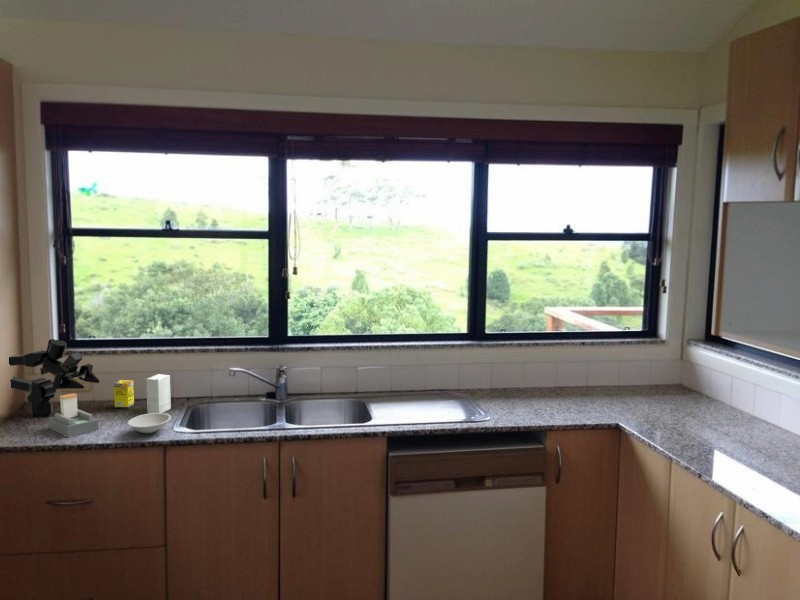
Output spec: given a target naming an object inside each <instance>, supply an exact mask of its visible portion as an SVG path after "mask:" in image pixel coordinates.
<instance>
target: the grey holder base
mask: <svg viewBox="0 0 800 600" xmlns="http://www.w3.org/2000/svg"><path fill="white" fill-rule="evenodd" d="M77 410H78V416H75V417H71V418H69V417H66V416H64V415H62V414H61V413H60V412H55V413H54V417H48V428H50V429H49V430H51V429H52V430H51V431H53V430H54V431H53V432H55V431H56V432H55V433H57V432H58V434H59V433H60V435H61V434H63V435H62V436H64V435H65V436H64V437H66V436H67V437H66V438H68V437H69V438H72V437H71V436H73V437H76V436H75V435H77V436H80V435H79V434H82V435H84V434H83V433H86V434H89V433H88V432H90V433H93V432H92V431H94V432H97V431H96V430H98V431H99V420H98V419H97V418H94V417H93V414H91V413H90V412H88V411H87V412H86V411H84V410H81V409H79V408H77Z"/></svg>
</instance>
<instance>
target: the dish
mask: <svg viewBox="0 0 800 600" xmlns="http://www.w3.org/2000/svg"><path fill="white" fill-rule="evenodd" d="M171 419H172V417H171V415H170V414H168V413H165V412H163V413H145V414H140V415H137V416H134V417H132V418H130V419H129V420H128V421H127V426H129V427H130V428H131V429H133V430H134V431H136V432H138V433H143V434H152V433H154V432H157V431H159V430H161V429H163V428H164V427H165V426H166V425H167V424H168V422H169V421H170V420H171Z"/></svg>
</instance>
